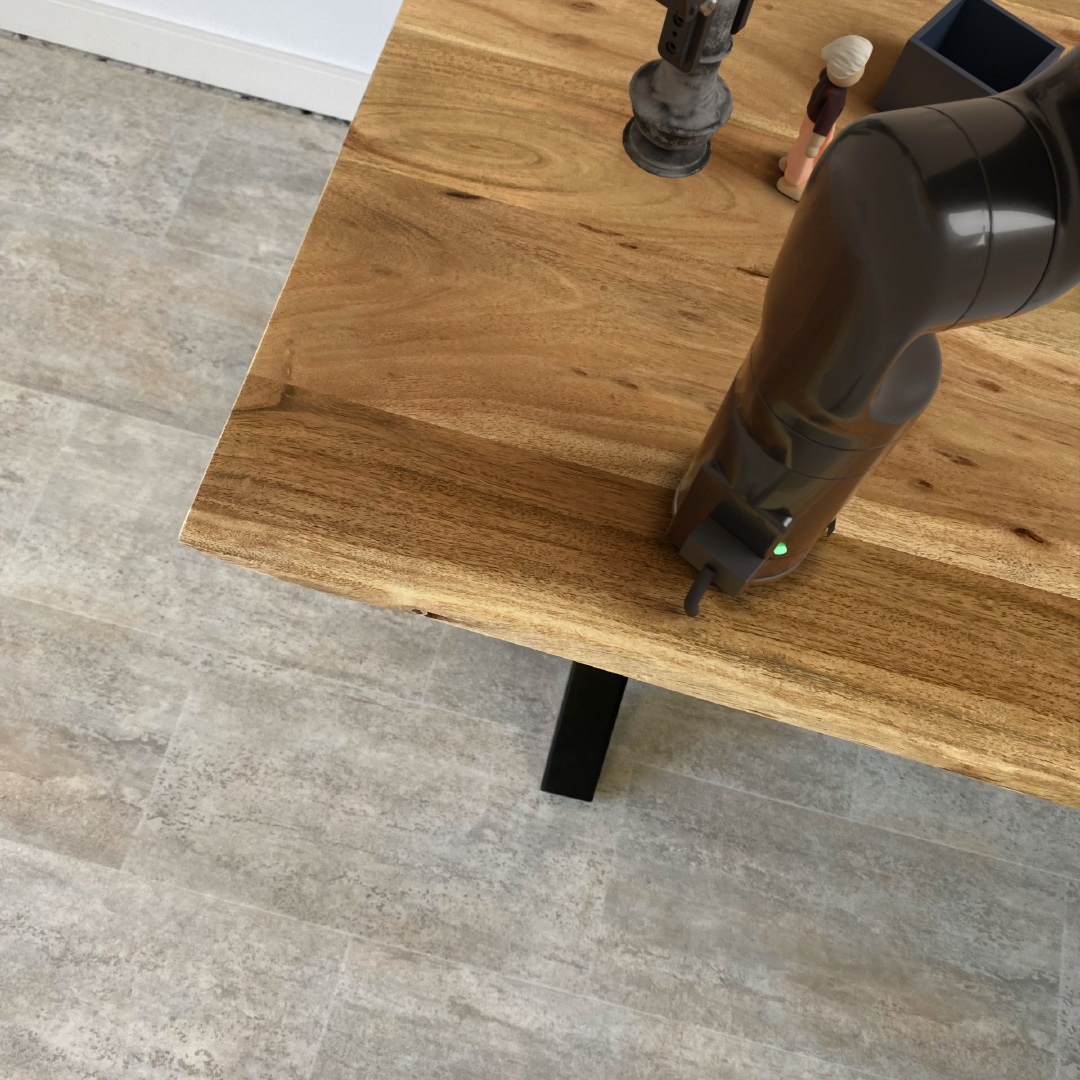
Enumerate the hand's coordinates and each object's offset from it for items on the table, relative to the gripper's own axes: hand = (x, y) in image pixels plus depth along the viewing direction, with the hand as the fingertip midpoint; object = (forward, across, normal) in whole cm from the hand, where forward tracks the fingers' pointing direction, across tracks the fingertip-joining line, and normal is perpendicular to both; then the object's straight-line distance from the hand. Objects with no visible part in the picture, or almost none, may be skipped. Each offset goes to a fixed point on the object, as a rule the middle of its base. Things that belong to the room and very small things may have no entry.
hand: (700, 41), depth 56 cm
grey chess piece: (+7, 0, 0) cm, 7 cm away
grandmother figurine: (+23, +21, -2) cm, 31 cm away
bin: (+23, +37, -7) cm, 44 cm away
